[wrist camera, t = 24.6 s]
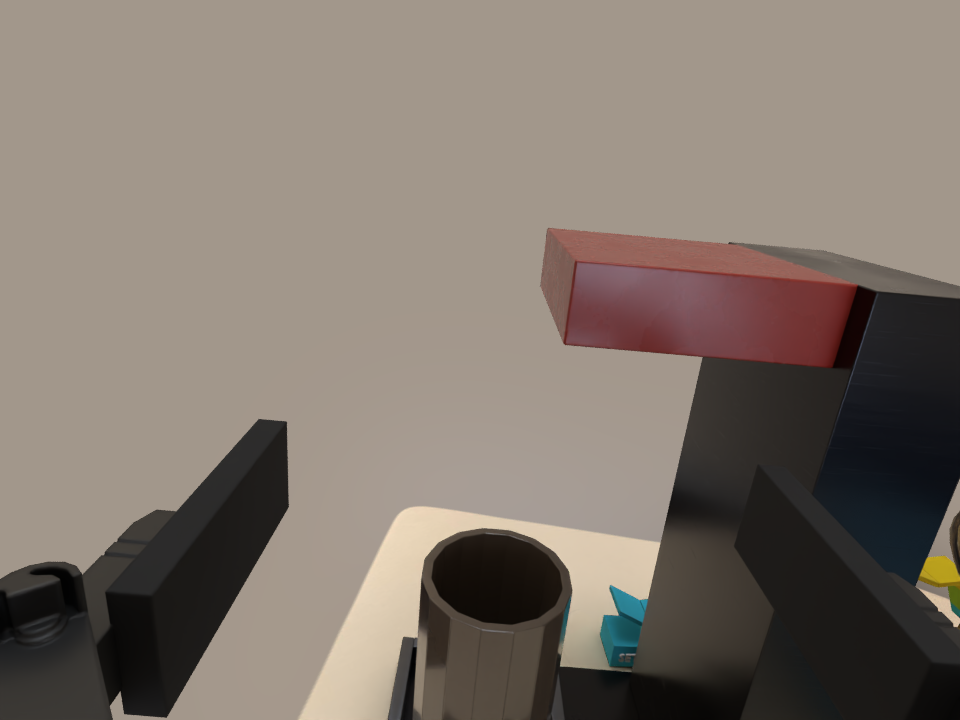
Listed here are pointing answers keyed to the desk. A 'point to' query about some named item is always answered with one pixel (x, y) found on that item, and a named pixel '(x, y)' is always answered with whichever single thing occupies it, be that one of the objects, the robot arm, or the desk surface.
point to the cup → (490, 628)
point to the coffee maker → (759, 448)
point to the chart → (626, 628)
